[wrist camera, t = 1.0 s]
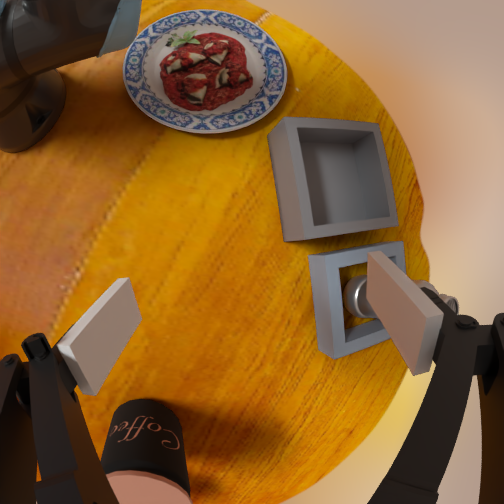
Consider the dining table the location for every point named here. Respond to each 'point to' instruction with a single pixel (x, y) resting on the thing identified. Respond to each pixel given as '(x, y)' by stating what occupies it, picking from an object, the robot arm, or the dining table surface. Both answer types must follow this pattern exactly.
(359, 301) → the plastic bottle
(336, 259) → the bottle holder
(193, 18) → the ceramic plate
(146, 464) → the coffee jar
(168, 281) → the dining table surface
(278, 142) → the bin
